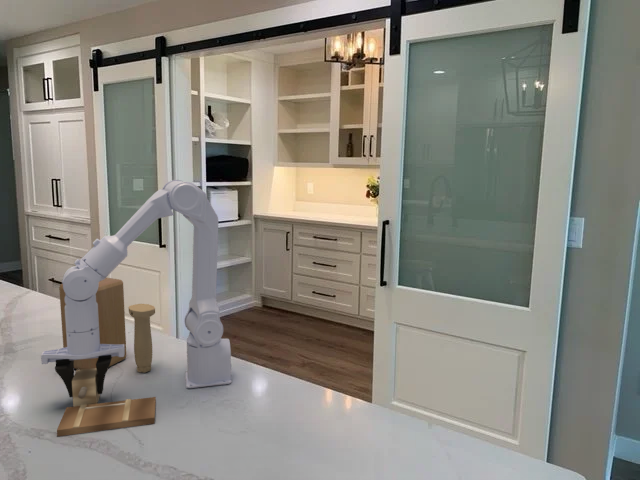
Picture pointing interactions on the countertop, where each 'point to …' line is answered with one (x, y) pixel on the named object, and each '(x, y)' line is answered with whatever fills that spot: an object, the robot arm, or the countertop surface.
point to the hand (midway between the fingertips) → (86, 393)
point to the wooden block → (103, 319)
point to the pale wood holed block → (85, 387)
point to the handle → (142, 335)
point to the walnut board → (107, 416)
